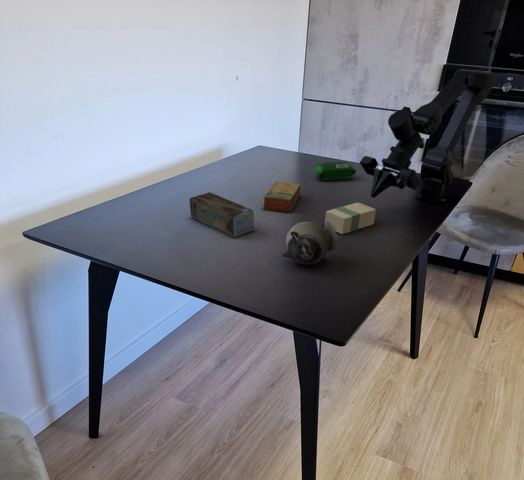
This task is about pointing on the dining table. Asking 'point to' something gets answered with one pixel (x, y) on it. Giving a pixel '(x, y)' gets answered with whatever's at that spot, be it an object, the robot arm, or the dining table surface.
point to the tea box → (350, 217)
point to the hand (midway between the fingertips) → (372, 196)
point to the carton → (282, 197)
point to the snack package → (334, 171)
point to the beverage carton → (222, 214)
